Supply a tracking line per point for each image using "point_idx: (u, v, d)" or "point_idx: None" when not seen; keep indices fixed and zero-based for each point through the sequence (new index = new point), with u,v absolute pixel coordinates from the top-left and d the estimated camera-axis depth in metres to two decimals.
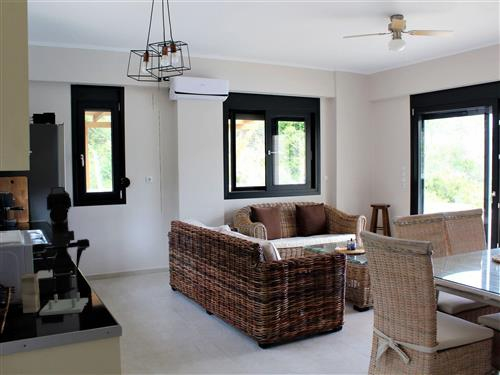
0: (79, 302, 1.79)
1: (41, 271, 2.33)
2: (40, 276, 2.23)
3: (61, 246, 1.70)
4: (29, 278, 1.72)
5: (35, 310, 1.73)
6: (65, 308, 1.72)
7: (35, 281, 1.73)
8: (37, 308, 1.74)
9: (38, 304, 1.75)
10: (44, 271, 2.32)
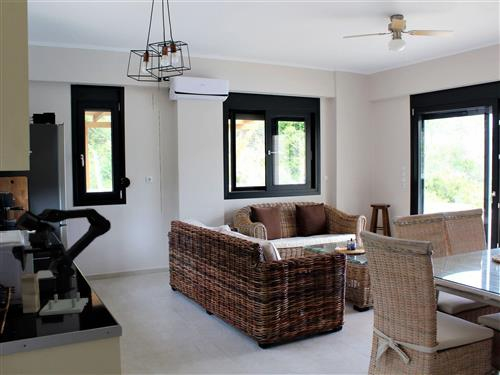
0: (79, 302, 1.79)
1: (41, 271, 2.33)
2: (40, 276, 2.23)
3: (38, 250, 1.86)
4: (29, 278, 1.72)
5: (35, 310, 1.73)
6: (65, 308, 1.72)
7: (35, 281, 1.73)
8: (37, 308, 1.74)
9: (38, 304, 1.75)
10: (44, 271, 2.32)
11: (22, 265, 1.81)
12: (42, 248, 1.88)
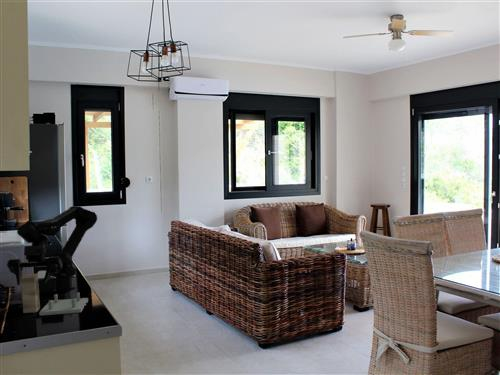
0: (79, 302, 1.79)
1: (41, 271, 2.33)
2: (40, 276, 2.23)
3: (34, 263, 1.81)
4: (29, 278, 1.72)
5: (35, 310, 1.73)
6: (65, 308, 1.72)
7: (35, 281, 1.73)
8: (37, 308, 1.74)
9: (38, 304, 1.75)
10: (44, 271, 2.32)
11: (17, 279, 1.76)
12: (38, 261, 1.83)
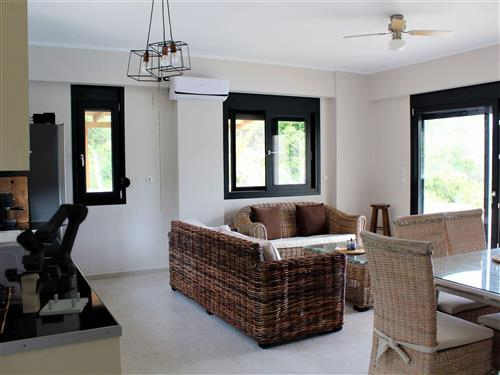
0: (79, 302, 1.79)
1: None
2: None
3: (26, 273, 1.78)
4: (29, 278, 1.72)
5: (35, 310, 1.73)
6: (65, 308, 1.72)
7: (35, 281, 1.73)
8: (37, 308, 1.74)
9: (38, 304, 1.75)
10: None
11: (21, 289, 1.73)
12: None
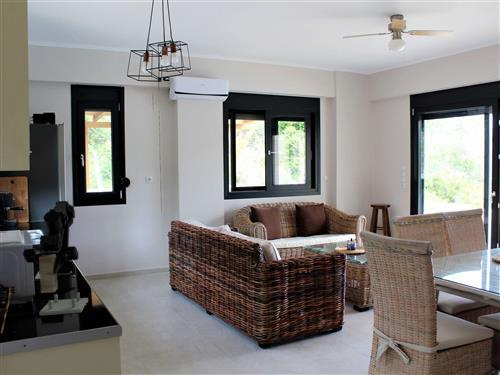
0: (79, 302, 1.79)
1: None
2: None
3: (44, 253, 1.78)
4: (47, 258, 1.72)
5: (53, 290, 1.73)
6: (65, 308, 1.72)
7: (52, 261, 1.73)
8: (55, 288, 1.75)
9: (56, 284, 1.76)
10: None
11: (39, 269, 1.74)
12: None
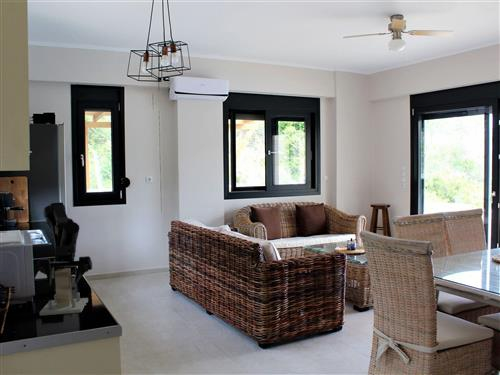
0: (79, 302, 1.79)
1: None
2: (40, 276, 2.23)
3: (65, 263, 1.80)
4: (63, 272, 1.73)
5: (68, 304, 1.74)
6: (65, 308, 1.72)
7: (68, 275, 1.75)
8: (70, 302, 1.76)
9: (71, 298, 1.77)
10: None
11: (48, 279, 1.74)
12: (68, 261, 1.81)
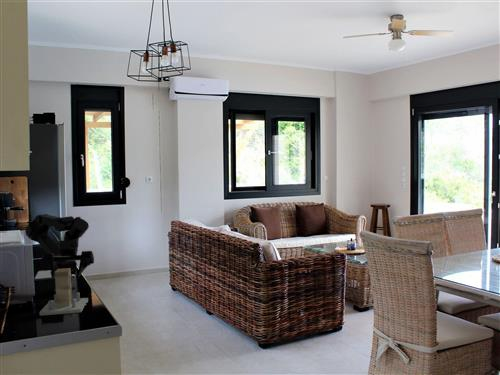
0: (79, 302, 1.79)
1: (41, 271, 2.32)
2: (40, 276, 2.23)
3: (68, 257, 1.88)
4: (63, 272, 1.73)
5: (68, 304, 1.74)
6: (65, 308, 1.72)
7: (68, 275, 1.75)
8: (70, 302, 1.76)
9: (71, 298, 1.77)
10: (44, 271, 2.32)
11: (52, 273, 1.82)
12: (71, 255, 1.90)
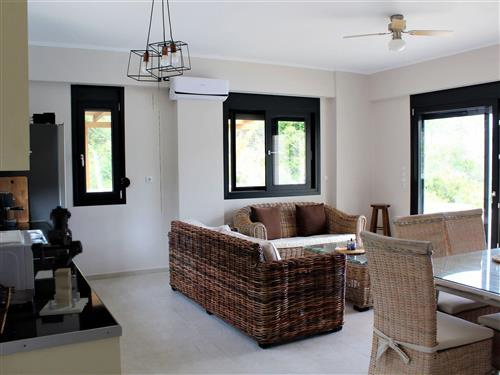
0: (79, 302, 1.79)
1: (41, 271, 2.32)
2: (40, 276, 2.23)
3: (56, 247, 1.91)
4: (63, 272, 1.73)
5: (68, 304, 1.74)
6: (65, 308, 1.72)
7: (68, 275, 1.75)
8: (70, 302, 1.76)
9: (71, 298, 1.77)
10: (44, 271, 2.32)
11: (41, 261, 1.86)
12: (60, 245, 1.93)
